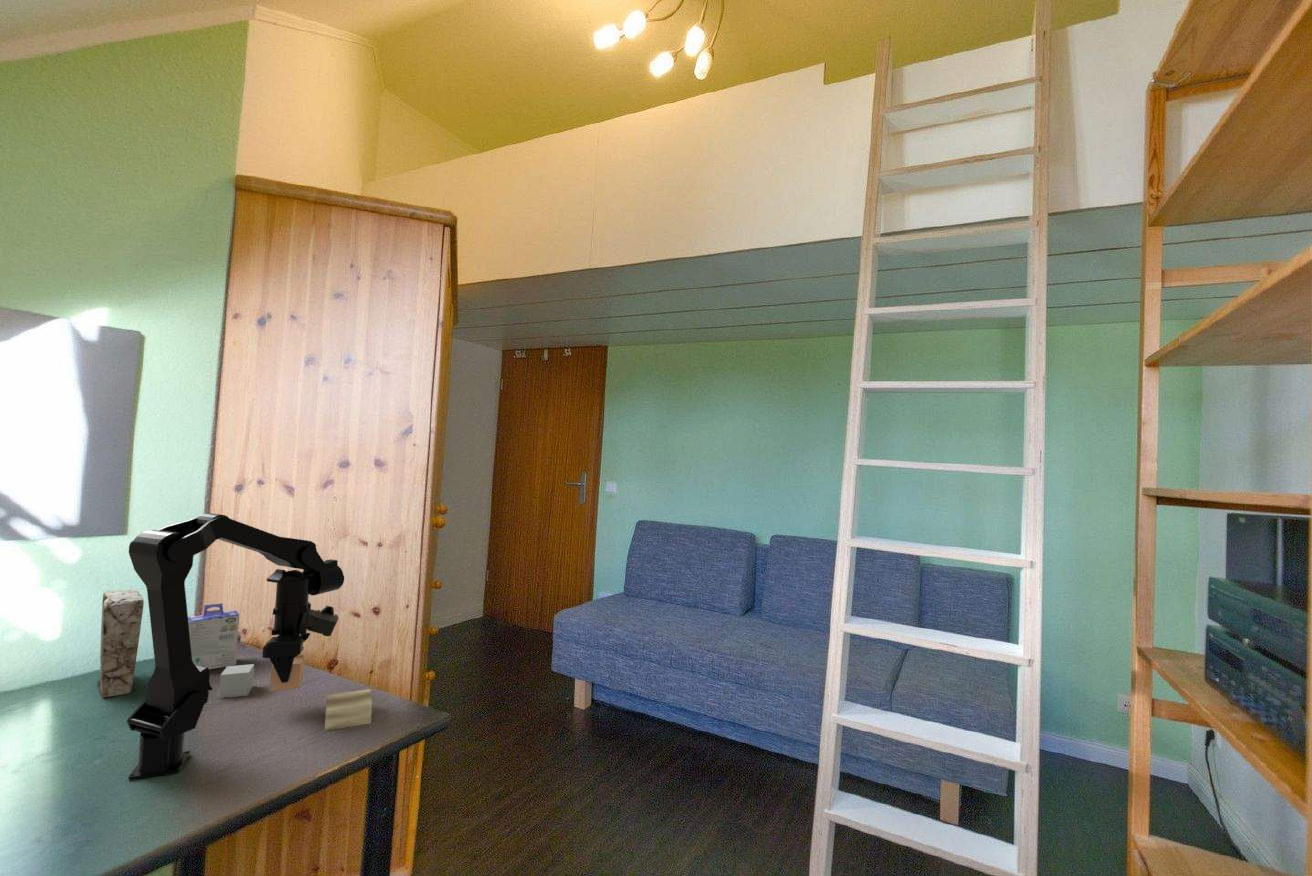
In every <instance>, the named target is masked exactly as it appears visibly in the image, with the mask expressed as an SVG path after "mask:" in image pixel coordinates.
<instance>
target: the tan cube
mask: <svg viewBox="0 0 1312 876" xmlns="http://www.w3.org/2000/svg"><path fill="white" fill-rule="evenodd" d="M304 668H305V655H304V654H300V655H298V656H296V657H295V658H294V662H293V666H292V669H291V673H290V677H289V681H288V682H286V683H282V682H281V680H280V678H279V676H278V674H277V672H276V670H275V668H274V666H273V664H271V670H270V684H269V685H270V686H269V692H276V691H278V692H279V691H287V690H296V689H300V687H301V685H302V683H303V680H304V671H305V669H304Z"/></svg>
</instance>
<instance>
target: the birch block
mask: <svg viewBox="0 0 1312 876" xmlns="http://www.w3.org/2000/svg"><path fill="white" fill-rule="evenodd" d="M371 691H372V690H371V688H367V689H359V690H352V691H344V692H338V693H330V694H326V700H325V701H326V704H325V720H324V731H326V732H327V731H332V730H338V729H344V728H348V727H349V728H350V727H356V726H362V725H369V724H371V723H372V712H373V711H372V709H373V702H372V701H373V700H372V692H371Z"/></svg>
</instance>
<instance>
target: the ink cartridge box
mask: <svg viewBox="0 0 1312 876" xmlns="http://www.w3.org/2000/svg"><path fill="white" fill-rule="evenodd" d="M223 607H224V606H223V603H213V604H205V605H204V608H203V614H201V615H194V616H188V622H189V632H190V642H191V652H192V660H193V663H194V664H195V665H198V666H203V667H207V668H209V671H210V670H214V669H220V668H221V669H222V668H226V667H227V666H237V660H238V659H237V658H238V656H237V655H238V643H239V641H238V640H239V639H238V638H239V624H240V614H239V613H238V610H229V611H224V608H223ZM212 608H219V609H214V610H208V609H212Z"/></svg>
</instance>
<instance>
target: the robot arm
mask: <svg viewBox="0 0 1312 876" xmlns="http://www.w3.org/2000/svg"><path fill="white" fill-rule="evenodd" d="M217 540H219V541H222V542H226V543H228V544H232V545H235V546H238V547H241V548H244V549H247V550H250V551H253V552H256V553H259V554H260V555H262V556H263V557H264V558H265V559H266V560H267V561H270V562H271V563H273V564H275V565H276V566H279V567H284V568H285V567H286V568H290V569H291V568H292V569H291V570H287V571H286V569H281V568H277V569H275V571H273V573H271V574H269V576H267V578H266V582H268V583H275V584H276V592H275V605H274V608H273V609H272V615H274V621H273V628H272V630H271V636H272V637H271V638H270V639H268V640H267V641H266V642H265V644H264V646H263V647H262V656H261V657H262V658H264V659H269V661H270V662H271V665H273V666H274V668H275V670H276V672H277V674H278V676H279V678H280V680H281V682H282V683H286V682H288V681H289V677H290V673H291V669H292V666H293V662H294V658H295V657H296V656H300V655H302V652H303V650H304V648H305V647H304V643H305V641H307V640H308V639H309V637H310V635H311V633H310V632H312V633H317V634H320V635H322V636H324V637H331V636H332V634H333V632H334V629H335V627H336V625H337V623H338V621H339V615H338V614H337V613H335V607H333V606H330V605H325V606H324V607H323V608H322V609H321V610H320V609H317V610H316V609H312V603H311V602H310V601H309V597H310V596H318V595H321V594H326V593H329V592H334V591H337V590H339V589H340V588H341V587H342V586H343V585H344V582H345V574H344V571H343V570H342V568H341V567H340V566H339V565H338V560H337V559H326V560H324V559H322V557H321V554H319V552H318V550H317V544H316V543H315V542H313V541H312V540H306V539H301V538H293V537H286V536H285V537H284V536H279V535H276V534H273V533H270V532H267V531H265V530H263V529H259V528H257V527H254V526H251V525H249V524H246V523H243V522H241V521H238V520H234V519H232V518H230V517H229V516H228V515H225V514H218V513H210V512H207V513H202V514H200V515H197V516H196V517H192V518H191V519H188V520H184V521H180V522H177V523H173V524H170V525H166V526H163V527H162V528H159V529H148V530H144V531H142V532H141V533H139V534H138V535H136V536H135V538H134V539H133V540H132V541H130V543H129V545H128V555H129V558H130V560H131V564H132V566H133V570H134V572H135V573H136V574H137V575H138V577H139V579H140V580H141V581H142V583H143V584H144V585H145V588H146V593H147V604H148V610H149V620H150V627H151V628H150V629H151V638H152V648H153V657H154V666H155V667H154V671H153V672H152V675H151V677H150V678H149V680H148V683H147V685H146V696H145V698H144V700H143V701H142V703H141V704H139V706H138V707H137V708H136V709H135V710H134V711H133V713H132V714H131V715H130V716H129V717H128V718H127V719H126V723H127V725H128V728H129V730H130V731H133V732H134V731H135V732H137V733H140V734H139V747H138V751H139V752H138V761H137V765H136V766H135V767H134V768H133V769H132V771H131V773H129V774H128V777H127V779H128V780H136V779H142V778H150V777H157V776H163V775H171V774H176V773H179V771H180V770H181V769H182V767H183V766H184V764H185V763H186V762H187V760H188V758H189V757H190V755H191V751H190V750H185V751H184V743H185V733H186V732H189V731H192V730H194V729H195V728H196V727H197V724H198V722H199V718H200V717H201V713H202V711H203V708H204V707H205V705H206V704H207V703H208V701H209V691H212V690H213V687H212V686H211V684H210V683H211V682H210V674H211V672H210V670H209V668H207V667H203V666H198V665H195V664H194V663H193V660H192V652H191V642H190V632H189V622H188V617H189V614H188V604H187V596H186V595H187V594H186V585H185V584H186V583H185V582H186V579H187V577H188V575H189V573H190V572H191V569H192V567H193V565H194V556H195V555H198V554H199V553H201V552H204V551H205V550H207V549H208V548H209V547H211V546H212V544H214V542H216V541H217ZM300 570H302V571H300Z"/></svg>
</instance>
